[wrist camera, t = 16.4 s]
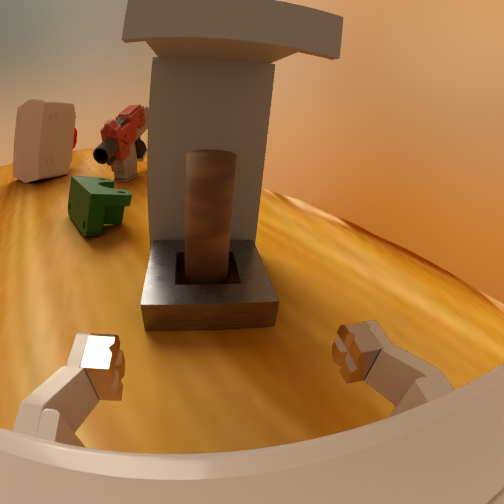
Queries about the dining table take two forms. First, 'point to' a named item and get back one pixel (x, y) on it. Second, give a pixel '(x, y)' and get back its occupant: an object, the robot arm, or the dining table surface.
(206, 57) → the gray cantilever bracket
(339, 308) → the dining table surface
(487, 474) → the robot arm
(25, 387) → the dining table surface
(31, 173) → the electrical switch box
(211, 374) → the dining table surface
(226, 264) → the peg
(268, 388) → the dining table surface
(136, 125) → the toy gun
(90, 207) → the clamp
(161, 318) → the socket
